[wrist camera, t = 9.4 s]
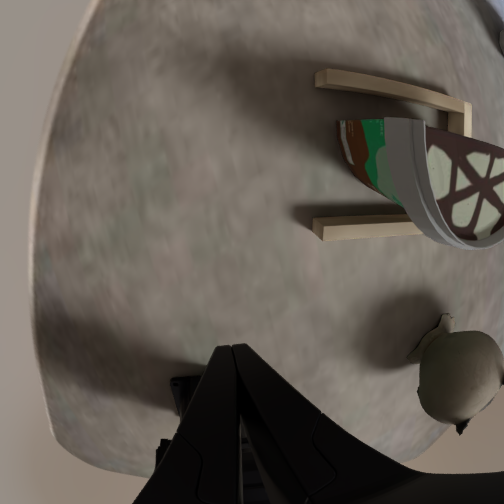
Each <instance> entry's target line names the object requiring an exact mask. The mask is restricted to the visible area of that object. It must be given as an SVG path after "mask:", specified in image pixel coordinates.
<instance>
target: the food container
mask: <svg viewBox="0 0 504 504" xmlns="http://www.w3.org/2000/svg"><path fill="white" fill-rule="evenodd" d="M336 125H337V138H338V142H339V145H340V148H341V152H342V155H343V158H344V160H345V161H346V163H347V165H348V166H349V168H350V169H351V171H352V173H353V174H354V176H356V177H357V178H358V179H359V180H360V181H361V182H363V183H364V184H365V185H366V186H367V187H369V188H371V189H372V190H374V191H376V192H378V193H380V194H381V195H383V196H385V197H387V198H388V199H390V200H392V201H393V202H395V203H397V204H398V205H400V206H402V207H403V208H404V209H405V211H406V213H407V215H408V216H409V217H410V219H411V220H412V221H413V223H414V224H415V225H416V227H417V228H418V229H419V230H420V231H421V232H423V233H424V234H425V235H426V236H427V237H429V238H431V239H432V240H434V241H436V242H438V243H441V244H445V245H448V246H453V247H457V248H461V249H465V250H475V249H486V248H490V247H493V246H495V245H497V244H499V243H500V242H502V241H503V240H504V149H503V148H500V147H498V146H495V145H492V144H489V143H486V142H483V141H479V140H476V139H473V138H469V137H466V136H463V135H460V134H456V133H452V132H449V131H445V130H441V129H437V128H433V127H428V126H425V120H415V119H409V118H395V117H384V119H365V120H340V121H336Z"/></svg>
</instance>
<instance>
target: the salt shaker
mask: <svg viewBox="0 0 504 504" xmlns="http://www.w3.org/2000/svg"><path fill="white" fill-rule="evenodd" d="M499 44H500V47H501V49H502V52H503V55H504V29H503V30H502V31H501V32H500V37H499Z"/></svg>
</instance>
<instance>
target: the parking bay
mask: <svg viewBox="0 0 504 504" xmlns="http://www.w3.org/2000/svg"><path fill="white" fill-rule="evenodd" d="M315 87H317V88H327V89H335V90H343V91H351V92H358V93H364V94H370V95H376V96H381V97H387V98H392V99H397V100H402V101H406V102H411V103H415V104H419V105H423V106H427V107H431V108H435V109H438V110H442V111H446V112H448V131H449V132H452V133H456V134H460V135H463V136H466V137H469V138H471V123H472V106H471V104H470V103H467V102H464V101H461V100H459V99H456V98H453V97H450V96H447V95H444V94H441V93H438V92H434V91H431V90H428V89H424V88H421V87H417V86H414V85H410V84H406V83H402V82H398V81H394V80H390V79H385V78H381V77H376V76H371V75H366V74H360V73H355V72H349V71H343V70H336V69H329V68H326V69H324V70H321V71H319V72H316V73H315ZM312 232H313V233H314V234H316V235H317V236H318V237H319V238H320V239H321V240H322V241H333V240H346V239H359V238H373V237H387V236H400V235H414V234H424V233H423V232H421V231H420V230H419V229H418V228H417V227H416V225H415V224H414V223H413V221H412V220H411V219H410V217H409V216H408V215H407V214H393V215H363V216H338V217H316V218H313V224H312Z"/></svg>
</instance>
